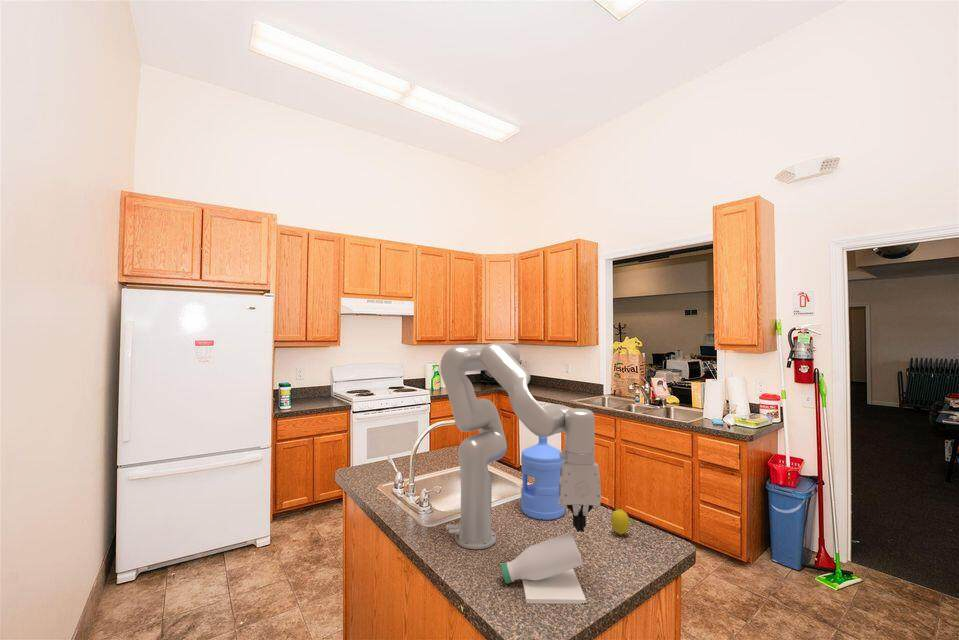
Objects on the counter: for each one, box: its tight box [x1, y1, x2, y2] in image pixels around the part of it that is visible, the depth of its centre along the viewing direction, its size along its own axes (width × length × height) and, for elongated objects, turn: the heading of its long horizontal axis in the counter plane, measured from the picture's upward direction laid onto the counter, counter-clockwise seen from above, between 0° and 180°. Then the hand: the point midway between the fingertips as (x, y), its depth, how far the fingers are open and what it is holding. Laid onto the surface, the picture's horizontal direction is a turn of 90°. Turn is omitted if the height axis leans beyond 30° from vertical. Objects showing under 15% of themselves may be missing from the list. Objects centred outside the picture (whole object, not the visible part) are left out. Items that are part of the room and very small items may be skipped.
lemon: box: [610, 508, 630, 536], centre depth 130 cm, size 6×6×8 cm
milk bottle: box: [500, 532, 583, 585], centre depth 104 cm, size 8×8×20 cm
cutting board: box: [521, 568, 587, 605], centre depth 104 cm, size 14×18×1 cm
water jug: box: [520, 436, 566, 521], centre depth 147 cm, size 16×16×28 cm
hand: (579, 529), depth 105 cm, fingers closed
